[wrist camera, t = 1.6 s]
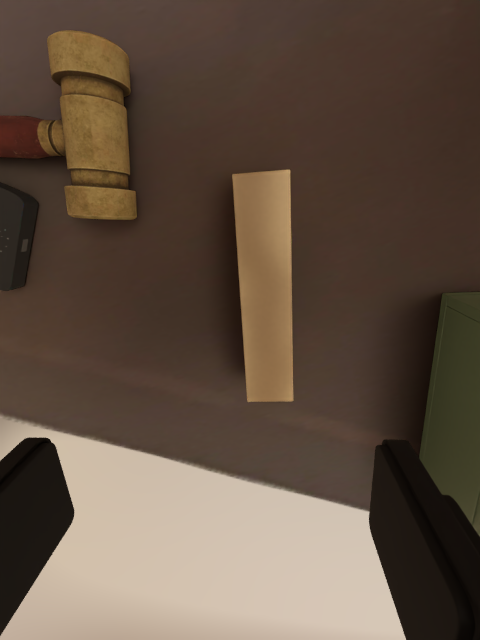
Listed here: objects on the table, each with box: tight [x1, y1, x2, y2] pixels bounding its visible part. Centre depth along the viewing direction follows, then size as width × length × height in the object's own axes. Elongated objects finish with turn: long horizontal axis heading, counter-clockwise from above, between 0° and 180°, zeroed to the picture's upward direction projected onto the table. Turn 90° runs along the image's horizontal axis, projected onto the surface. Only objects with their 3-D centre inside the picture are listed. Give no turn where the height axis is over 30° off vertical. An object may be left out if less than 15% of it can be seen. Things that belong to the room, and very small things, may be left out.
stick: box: [232, 169, 293, 402], centre depth 23 cm, size 4×16×4 cm, turn 4°
